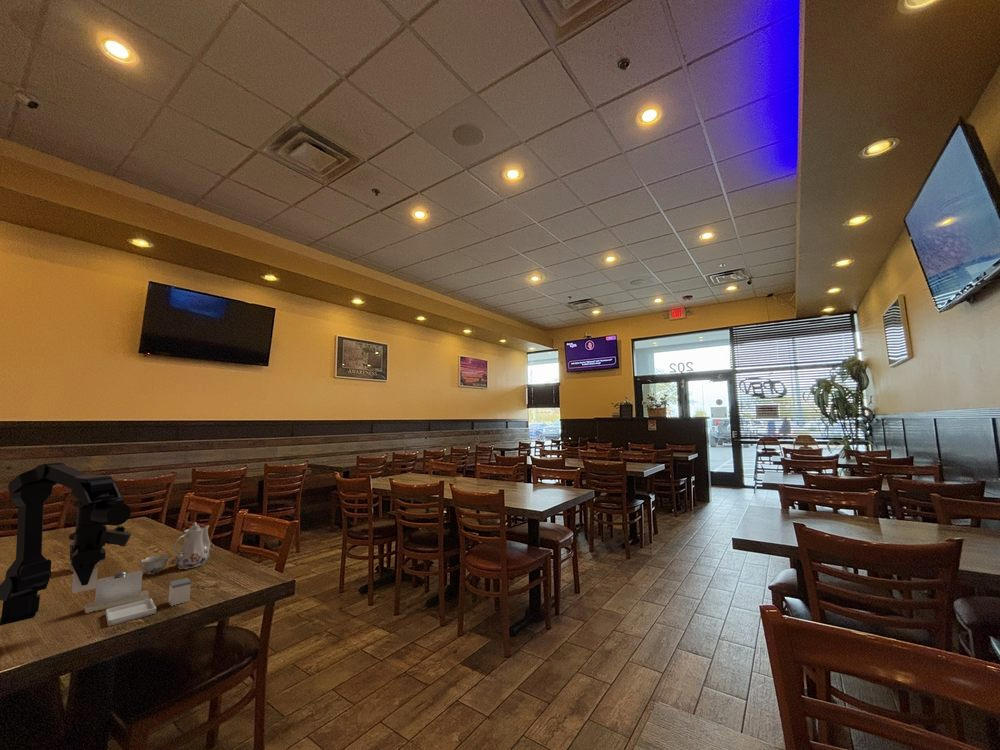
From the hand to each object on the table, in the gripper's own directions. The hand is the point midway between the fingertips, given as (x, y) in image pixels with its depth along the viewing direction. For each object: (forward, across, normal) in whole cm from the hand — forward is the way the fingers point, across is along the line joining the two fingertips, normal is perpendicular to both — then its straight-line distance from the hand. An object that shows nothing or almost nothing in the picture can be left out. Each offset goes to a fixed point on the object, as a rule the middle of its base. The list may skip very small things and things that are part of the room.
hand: (84, 582), depth 110 cm
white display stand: (+12, +12, -8) cm, 19 cm away
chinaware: (+12, +39, -29) cm, 50 cm away
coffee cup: (+12, +61, -2) cm, 62 cm away
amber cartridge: (+2, 0, 0) cm, 2 cm away
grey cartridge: (+12, 0, -21) cm, 24 cm away
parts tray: (+12, 0, -10) cm, 15 cm away
